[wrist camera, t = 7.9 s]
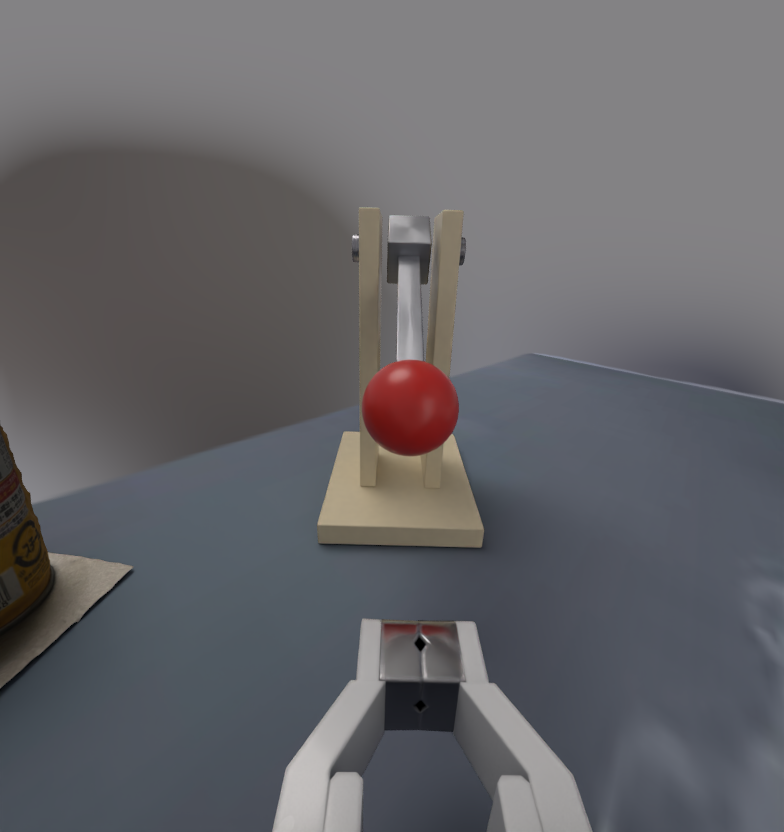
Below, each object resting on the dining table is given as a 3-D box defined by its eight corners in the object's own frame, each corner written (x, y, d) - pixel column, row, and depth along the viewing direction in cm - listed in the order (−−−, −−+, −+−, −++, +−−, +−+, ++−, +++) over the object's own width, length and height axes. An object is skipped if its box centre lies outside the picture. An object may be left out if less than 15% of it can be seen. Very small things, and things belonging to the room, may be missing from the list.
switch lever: (454, 475, 15) (471, 418, 12) (360, 473, 15) (355, 415, 12) (436, 266, 24) (444, 204, 21) (376, 264, 24) (375, 202, 21)
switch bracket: (481, 548, 22) (531, 201, 15) (317, 544, 22) (298, 195, 15) (452, 448, 33) (474, 223, 26) (343, 445, 33) (339, 219, 26)
